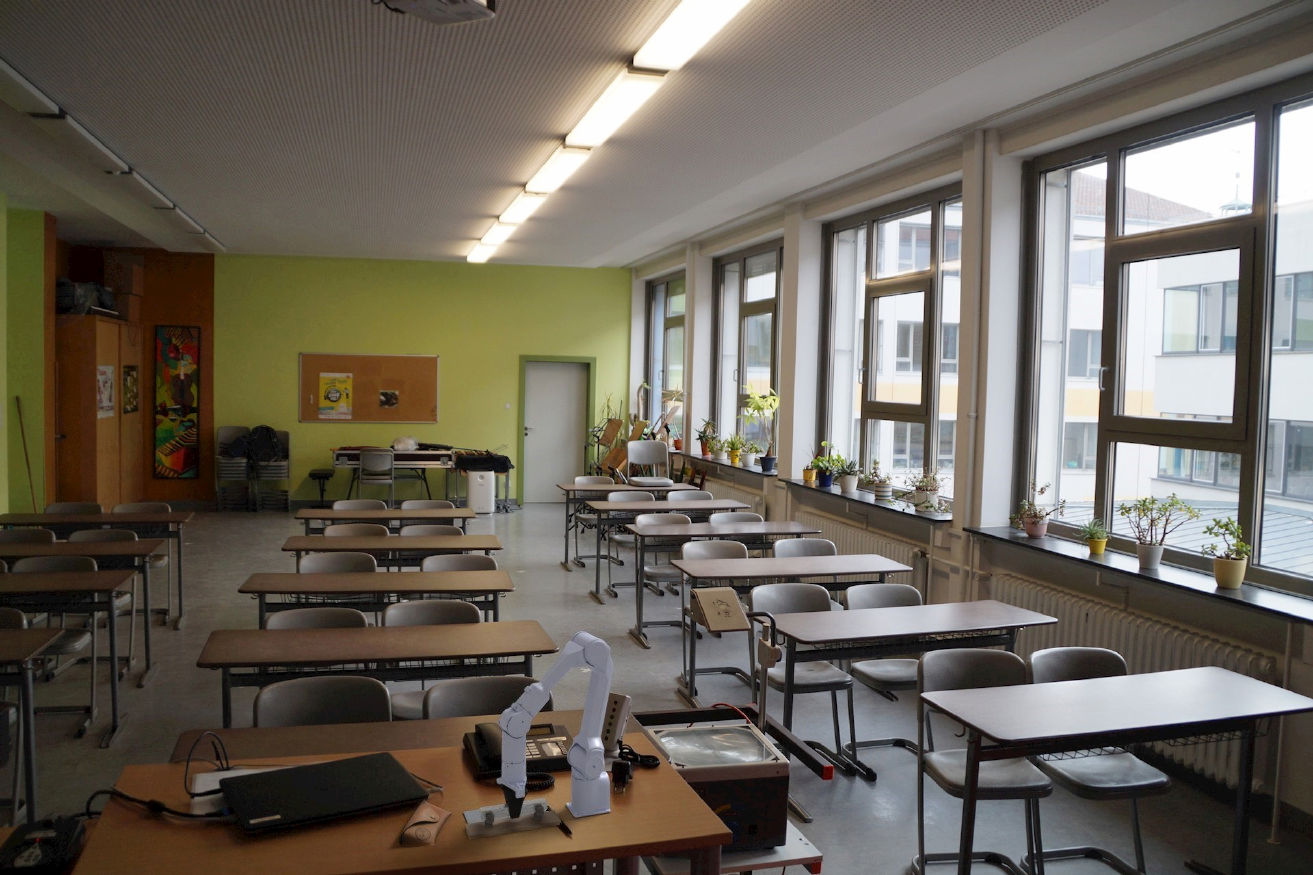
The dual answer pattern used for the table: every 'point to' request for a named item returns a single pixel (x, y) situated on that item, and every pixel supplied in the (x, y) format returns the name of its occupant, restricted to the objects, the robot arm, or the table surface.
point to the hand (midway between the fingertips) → (513, 815)
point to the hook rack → (512, 824)
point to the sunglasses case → (424, 826)
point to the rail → (503, 809)
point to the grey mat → (474, 817)
